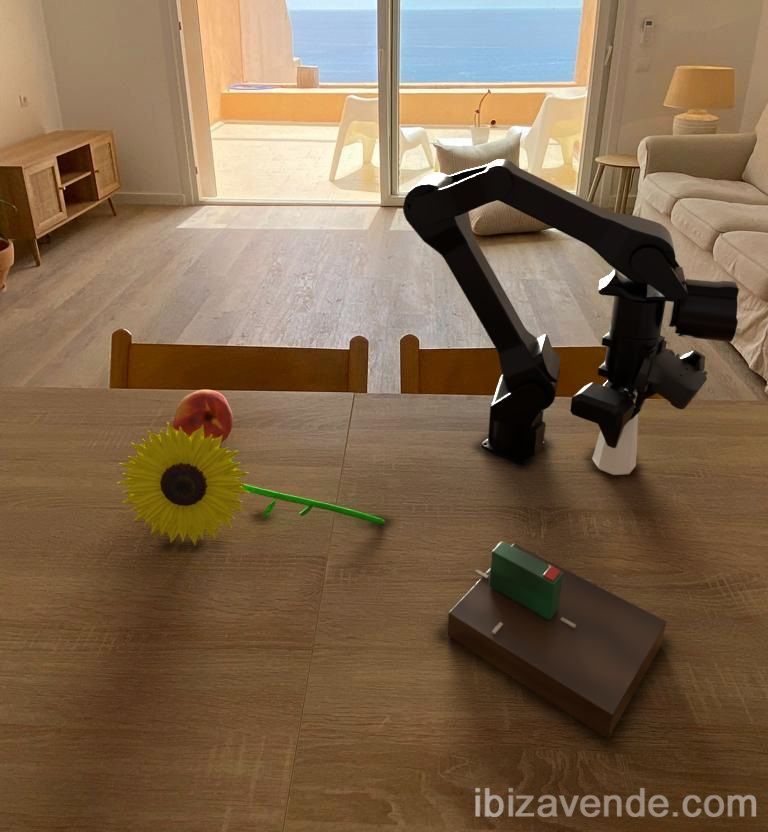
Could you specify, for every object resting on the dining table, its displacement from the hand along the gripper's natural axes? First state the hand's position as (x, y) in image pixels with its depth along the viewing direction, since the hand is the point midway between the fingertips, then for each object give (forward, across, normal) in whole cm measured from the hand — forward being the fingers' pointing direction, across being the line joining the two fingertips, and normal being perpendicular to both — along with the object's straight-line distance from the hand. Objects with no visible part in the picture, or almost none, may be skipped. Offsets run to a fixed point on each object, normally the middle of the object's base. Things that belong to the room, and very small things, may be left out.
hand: (618, 439), depth 89 cm
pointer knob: (+1, -30, -3) cm, 30 cm away
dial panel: (+4, -30, -7) cm, 31 cm away
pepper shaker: (+4, 0, 0) cm, 4 cm away
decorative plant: (+4, -38, +26) cm, 46 cm away
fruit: (+4, -31, +45) cm, 55 cm away
